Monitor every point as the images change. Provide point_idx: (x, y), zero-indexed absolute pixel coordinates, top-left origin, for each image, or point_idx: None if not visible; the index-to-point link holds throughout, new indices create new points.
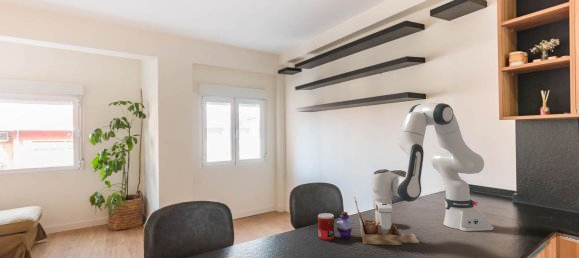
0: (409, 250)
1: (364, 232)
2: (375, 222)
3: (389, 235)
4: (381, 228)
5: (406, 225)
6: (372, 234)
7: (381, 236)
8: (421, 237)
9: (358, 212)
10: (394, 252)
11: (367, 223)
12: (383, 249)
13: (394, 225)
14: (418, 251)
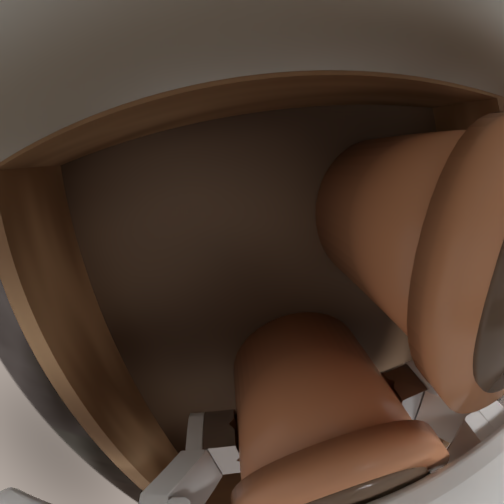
0: (111, 467)
1: (418, 131)
2: (459, 405)
3: (128, 471)
4: (243, 469)
5: (497, 400)
6: (328, 247)
7: (76, 405)
8: None
9: None
10: (30, 402)
11: (455, 191)
12: (23, 348)
13: (445, 445)
14: (125, 487)
